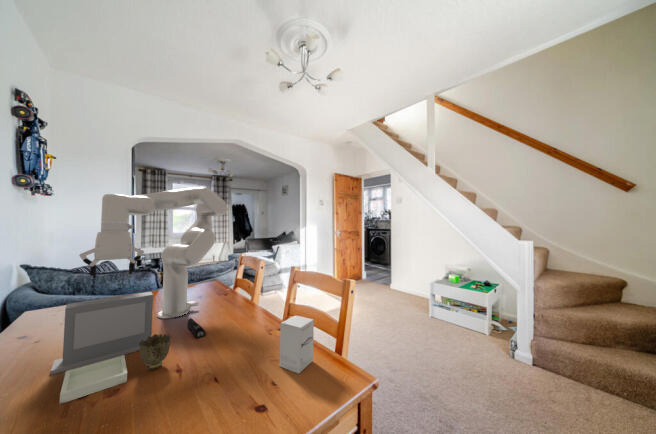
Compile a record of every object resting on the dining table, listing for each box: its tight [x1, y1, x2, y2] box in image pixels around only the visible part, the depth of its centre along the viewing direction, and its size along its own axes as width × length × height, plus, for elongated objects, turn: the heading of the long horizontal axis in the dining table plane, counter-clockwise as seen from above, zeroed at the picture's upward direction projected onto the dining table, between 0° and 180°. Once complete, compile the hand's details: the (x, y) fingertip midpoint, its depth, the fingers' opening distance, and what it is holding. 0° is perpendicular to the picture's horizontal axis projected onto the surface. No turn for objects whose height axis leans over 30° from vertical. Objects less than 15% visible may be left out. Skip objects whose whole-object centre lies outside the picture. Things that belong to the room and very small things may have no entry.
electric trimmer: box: [187, 317, 206, 340], centre depth 92 cm, size 4×16×3 cm, turn 42°
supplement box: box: [279, 315, 315, 374], centre depth 70 cm, size 7×7×13 cm
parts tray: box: [59, 354, 128, 405], centre depth 62 cm, size 12×12×2 cm
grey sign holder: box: [50, 291, 154, 375], centre depth 75 cm, size 24×7×17 cm, turn 133°
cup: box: [139, 333, 172, 371], centre depth 68 cm, size 8×7×8 cm
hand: (112, 275), depth 85 cm, fingers open, 9 cm apart
